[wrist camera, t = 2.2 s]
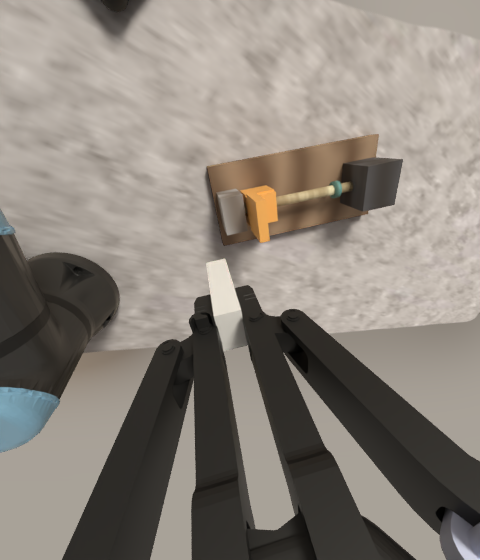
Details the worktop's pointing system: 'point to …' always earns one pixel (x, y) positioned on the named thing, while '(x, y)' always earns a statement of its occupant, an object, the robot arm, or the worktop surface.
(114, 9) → the door handle
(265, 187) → the orange sliding rod block
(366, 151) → the rail
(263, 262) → the worktop surface
